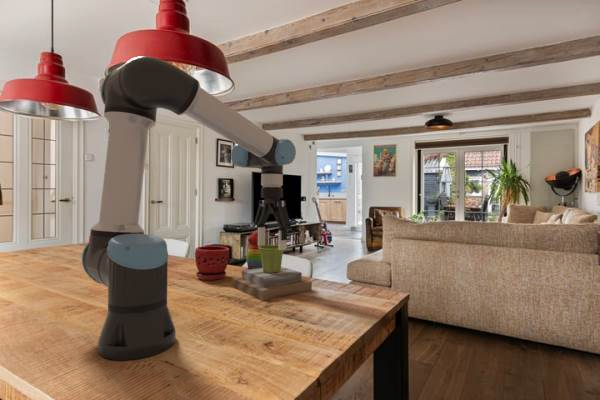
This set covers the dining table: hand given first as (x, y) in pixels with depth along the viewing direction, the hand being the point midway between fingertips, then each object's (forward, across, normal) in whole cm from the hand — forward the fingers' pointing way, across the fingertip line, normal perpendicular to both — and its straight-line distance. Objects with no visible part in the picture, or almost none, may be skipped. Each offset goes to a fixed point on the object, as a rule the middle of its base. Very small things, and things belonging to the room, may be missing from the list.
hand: (271, 247), depth 121 cm
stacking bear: (+15, +24, -8) cm, 29 cm away
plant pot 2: (+9, 0, 0) cm, 9 cm away
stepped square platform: (+14, 0, 0) cm, 14 cm away
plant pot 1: (+15, +28, +10) cm, 33 cm away
